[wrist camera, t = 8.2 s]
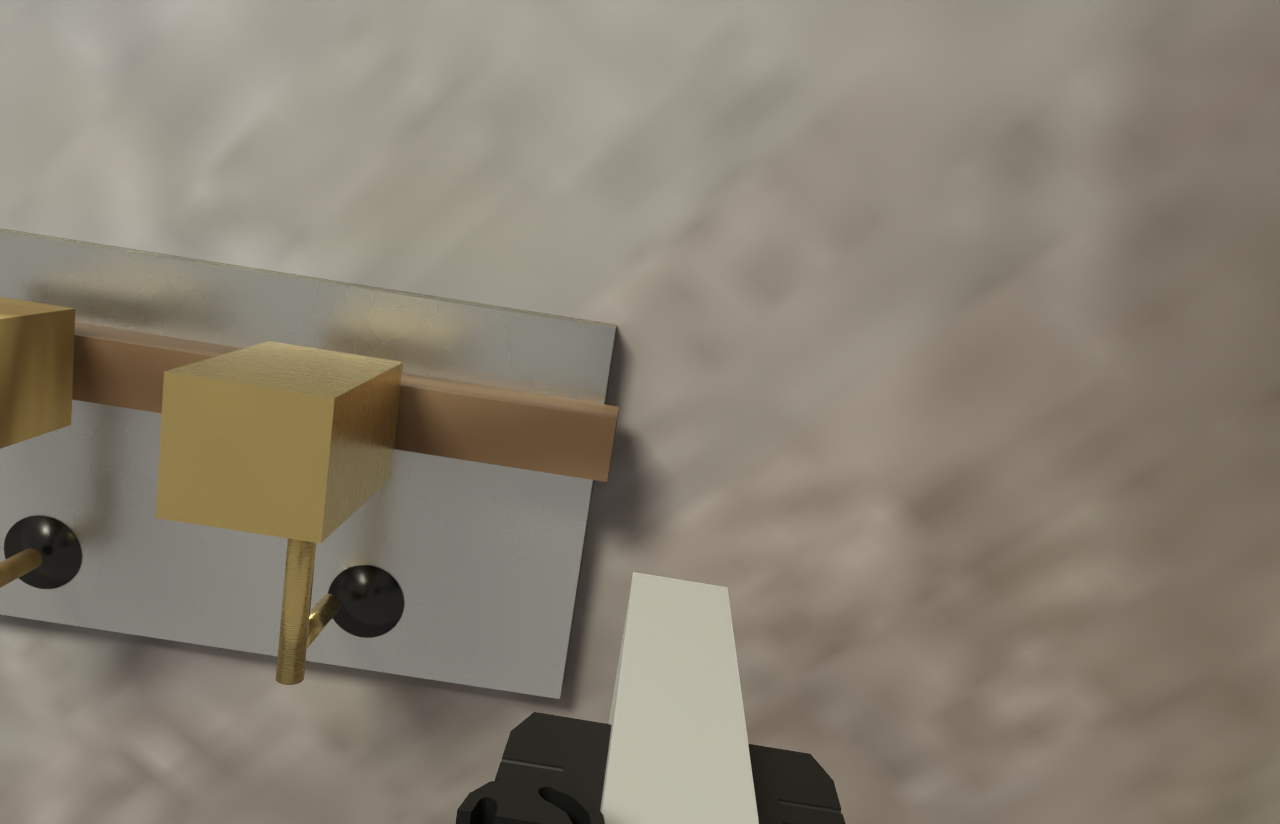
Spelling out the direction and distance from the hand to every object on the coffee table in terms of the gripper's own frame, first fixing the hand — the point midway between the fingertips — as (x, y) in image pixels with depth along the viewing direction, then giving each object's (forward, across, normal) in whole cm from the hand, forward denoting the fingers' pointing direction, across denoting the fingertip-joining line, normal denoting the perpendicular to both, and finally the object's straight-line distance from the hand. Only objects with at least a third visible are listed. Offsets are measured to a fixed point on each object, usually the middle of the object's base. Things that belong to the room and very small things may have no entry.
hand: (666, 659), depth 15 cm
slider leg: (+15, -10, -3) cm, 19 cm away
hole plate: (+17, -13, -3) cm, 21 cm away
